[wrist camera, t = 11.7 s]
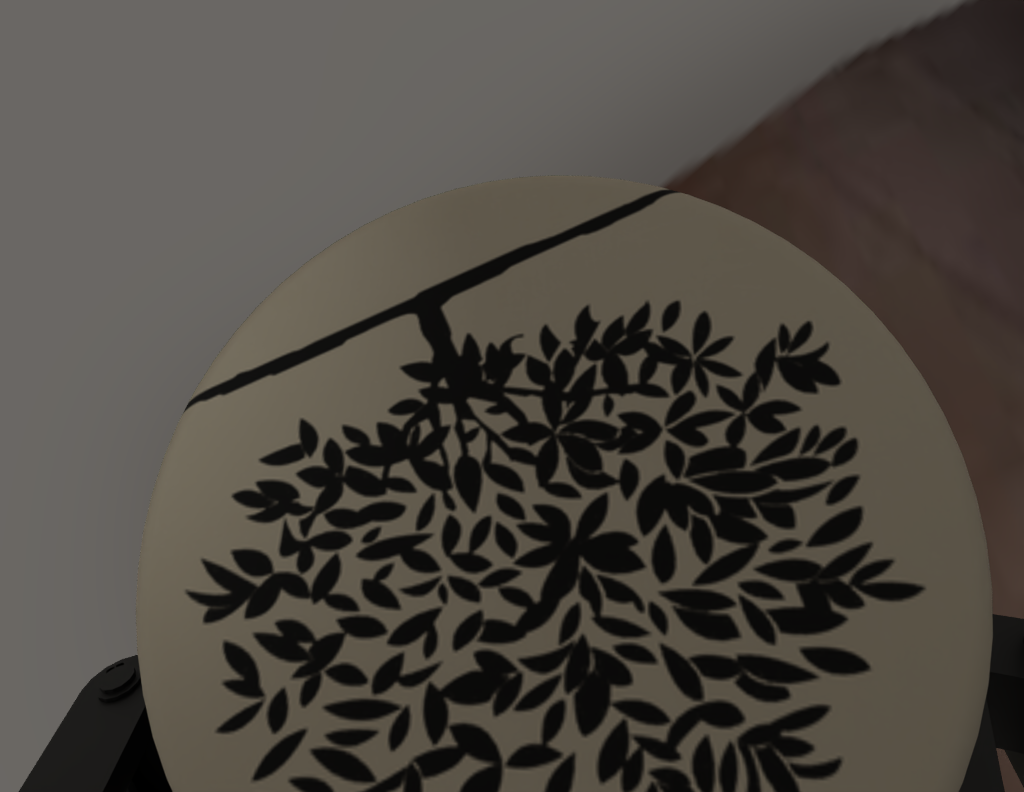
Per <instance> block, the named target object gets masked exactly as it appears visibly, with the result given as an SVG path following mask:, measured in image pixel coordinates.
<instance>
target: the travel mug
mask: <svg viewBox="0 0 1024 792" xmlns="http://www.w3.org/2000/svg"><path fill="white" fill-rule="evenodd" d="M136 626H137V651H138V660H139V667H140V675H141V683H142V690H143V696H144V701H145V705H146V709H147V714H148V718H149V722H150V727H151V731H152V735H153V739H154V742H155V745H156V748H157V751H158V754H159V757H160V760H161V763H162V766H163V769H164V772H165V775H166V778H167V780H168V782H169V785H170V787H171V789H172V791H173V792H959V790H960V788H961V785H962V783H963V780H964V777H965V774H966V771H967V768H968V765H969V762H970V759H971V755H972V752H973V749H974V746H975V743H976V740H977V737H978V733H979V729H980V724H981V719H982V714H983V709H984V704H985V699H986V694H987V689H988V683H989V672H990V662H991V651H992V640H993V618H992V584H991V576H990V567H989V559H988V551H987V542H986V538H985V533H984V529H983V525H982V520H981V516H980V511H979V507H978V502H977V498H976V495H975V492H974V489H973V486H972V483H971V480H970V477H969V474H968V471H967V468H966V465H965V462H964V459H963V456H962V453H961V451H960V449H959V447H958V444H957V442H956V440H955V438H954V435H953V433H952V431H951V429H950V426H949V424H948V422H947V420H946V417H945V415H944V413H943V412H942V410H941V408H940V406H939V405H938V403H937V401H936V399H935V397H934V396H933V394H932V392H931V390H930V389H929V387H928V385H927V383H926V382H925V380H924V378H923V377H922V375H921V374H920V372H919V371H918V369H917V368H916V367H915V365H914V364H913V362H912V361H911V359H910V358H909V356H908V355H907V354H906V352H905V351H904V349H903V348H902V346H901V345H900V344H899V342H898V341H897V340H896V339H895V338H894V337H893V335H892V334H891V333H890V332H889V331H888V329H887V328H886V327H885V326H884V325H883V324H882V322H881V321H880V320H879V319H878V318H877V316H876V315H875V314H874V313H873V312H872V311H871V310H870V309H869V308H868V307H867V306H866V305H865V304H864V303H863V302H862V301H861V300H860V299H859V298H858V297H857V296H856V295H855V294H854V293H853V292H852V291H851V290H850V289H849V288H848V287H847V286H846V285H845V284H843V283H842V282H841V281H840V280H838V279H837V278H836V277H835V276H834V275H832V274H831V273H830V272H829V271H828V270H826V269H825V268H824V267H823V266H822V265H820V264H819V263H818V262H817V261H815V260H814V259H812V258H811V257H809V256H808V255H807V254H805V253H804V252H802V251H801V250H799V249H798V248H796V247H795V246H794V245H792V244H791V243H789V242H788V241H786V240H785V239H783V238H781V237H779V236H778V235H776V234H774V233H772V232H771V231H769V230H767V229H765V228H764V227H762V226H760V225H758V224H757V223H755V222H753V221H751V220H748V219H746V218H744V217H742V216H740V215H738V214H735V213H733V212H731V211H729V210H727V209H725V208H722V207H720V206H717V205H715V204H712V203H709V202H706V201H704V200H701V199H698V198H695V197H693V196H690V195H687V194H683V193H679V192H676V191H672V190H668V189H665V188H661V187H657V186H653V185H648V184H642V183H637V182H631V181H626V180H621V179H611V178H601V177H592V176H560V175H559V176H558V175H551V176H535V177H519V178H512V179H505V180H498V181H490V182H485V183H481V184H476V185H471V186H467V187H463V188H458V189H454V190H451V191H447V192H444V193H441V194H438V195H434V196H432V197H428V198H425V199H422V200H420V201H417V202H414V203H412V204H409V205H407V206H404V207H402V208H399V209H397V210H394V211H392V212H390V213H388V214H386V215H384V216H382V217H380V218H378V219H376V220H374V221H372V222H369V223H367V224H366V225H364V226H362V227H361V228H359V229H357V230H355V231H353V232H352V233H350V234H348V235H347V236H345V237H343V238H341V239H340V240H338V241H337V242H335V243H333V244H332V245H331V246H329V247H328V248H326V249H325V250H323V251H322V252H321V253H319V254H318V255H316V256H315V257H313V258H312V259H311V260H310V261H308V262H307V263H305V264H304V265H303V266H302V267H301V268H299V269H298V270H297V271H296V272H294V273H293V274H292V275H291V276H290V277H288V278H287V279H286V280H285V281H284V282H282V283H281V284H280V285H279V286H278V287H277V288H276V289H275V290H274V291H273V292H272V293H271V294H270V295H269V296H268V297H267V298H266V299H265V300H264V301H263V302H262V303H261V304H260V305H259V306H258V307H257V308H256V309H255V310H254V311H253V312H252V313H251V315H250V316H249V317H248V318H247V319H246V320H245V321H244V323H243V324H242V325H241V326H240V327H239V328H238V329H237V330H236V332H235V333H234V334H233V336H232V337H231V338H230V340H229V341H228V342H227V344H226V345H225V346H224V348H223V349H222V350H221V352H220V353H219V354H218V356H217V357H216V358H215V360H214V361H213V363H212V364H211V366H210V368H209V369H208V371H207V372H206V374H205V375H204V377H203V379H202V380H201V382H200V383H199V385H198V387H197V388H196V390H195V391H194V393H193V395H192V397H191V399H190V401H189V403H188V405H187V407H186V409H185V411H184V413H183V415H182V417H181V419H180V420H179V422H178V425H177V427H176V429H175V432H174V434H173V436H172V439H171V441H170V444H169V446H168V448H167V451H166V453H165V456H164V458H163V462H162V464H161V468H160V471H159V474H158V477H157V480H156V483H155V486H154V489H153V493H152V496H151V501H150V505H149V510H148V514H147V518H146V522H145V527H144V531H143V538H142V546H141V552H140V560H139V567H138V580H137V600H136Z"/></svg>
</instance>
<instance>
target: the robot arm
mask: <svg viewBox="0 0 1024 792" xmlns="http://www.w3.org/2000/svg"><path fill="white" fill-rule="evenodd" d="M992 618H993V640H992V651H991V662H990V672H989V683H988V689H987V694H986V699H985V704H984V709H983V714H982V719H981V724H980V729H979V733H978V737H977V740H976V743H975V746H974V749H973V752H972V755H971V759H970V762H969V765H968V768H967V771H966V774H965V777H964V780H963V783H962V785H961V788H960V790H959V792H1005V791H1004V786H1003V781H1002V776H1001V771H1000V766H999V761H998V756H997V751H996V748H1000V749H1004V750H1005V752H1006V754H1007V756H1008V758H1009V760H1010V762H1011V764H1012V766H1013V768H1014V769H1015V771H1016V773H1017V775H1018V777H1019V779H1020V781H1021V783H1022V785H1023V787H1024V619H1020V618H1014V617H1007V616H1001V615H994V614H992ZM19 792H173V791H172V789H171V787H170V785H169V782H168V780H167V778H166V775H165V772H164V769H163V766H162V763H161V760H160V757H159V754H158V751H157V748H156V745H155V742H154V739H153V735H152V731H151V727H150V722H149V718H148V714H147V709H146V705H145V701H144V696H143V690H142V683H141V675H140V667H139V660H138V655H135V656H132V657H129V658H125V659H122V660H120V661H118V662H116V663H114V664H112V665H110V666H108V667H106V668H105V669H104V670H102V671H101V672H100V673H98V674H97V675H96V676H95V677H93V678H92V679H91V680H90V681H89V683H88V684H87V685H86V686H85V687H84V688H83V690H82V691H81V693H80V694H79V695H78V697H77V699H76V700H75V702H74V704H73V705H72V707H71V708H70V710H69V712H68V713H67V715H66V717H65V718H64V720H63V721H62V723H61V724H60V726H59V728H58V729H57V731H56V732H55V734H54V736H53V737H52V739H51V741H50V742H49V744H48V745H47V747H46V749H45V750H44V752H43V754H42V755H41V757H40V758H39V760H38V761H37V763H36V765H35V766H34V768H33V770H32V771H31V773H30V774H29V776H28V778H27V779H26V781H25V782H24V784H23V786H22V787H21V789H20V791H19Z"/></svg>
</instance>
